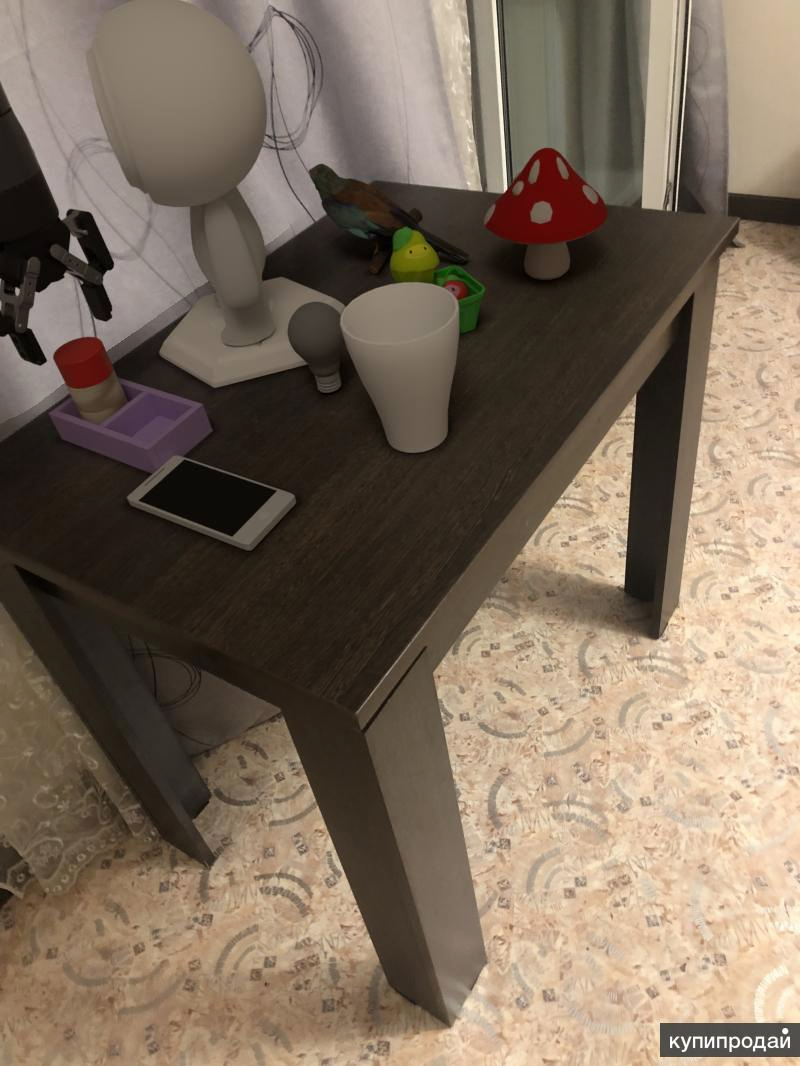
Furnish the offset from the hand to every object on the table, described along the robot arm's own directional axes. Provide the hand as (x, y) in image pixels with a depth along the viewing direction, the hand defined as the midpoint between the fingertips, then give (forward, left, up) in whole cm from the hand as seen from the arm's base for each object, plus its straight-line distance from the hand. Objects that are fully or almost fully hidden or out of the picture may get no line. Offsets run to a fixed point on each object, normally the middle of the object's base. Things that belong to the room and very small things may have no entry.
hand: (72, 340), depth 81 cm
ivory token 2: (0, 0, -10) cm, 10 cm away
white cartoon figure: (+21, -2, -11) cm, 24 cm away
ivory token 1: (0, 0, -7) cm, 7 cm away
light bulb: (+15, -19, -11) cm, 26 cm away
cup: (+12, -32, -11) cm, 36 cm away
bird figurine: (+43, -9, -11) cm, 45 cm away
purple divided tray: (0, -4, -11) cm, 11 cm away
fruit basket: (+29, -23, -11) cm, 38 cm away
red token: (0, 0, -4) cm, 4 cm away
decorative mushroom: (+45, -30, -11) cm, 55 cm away
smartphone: (-5, -19, -11) cm, 22 cm away
